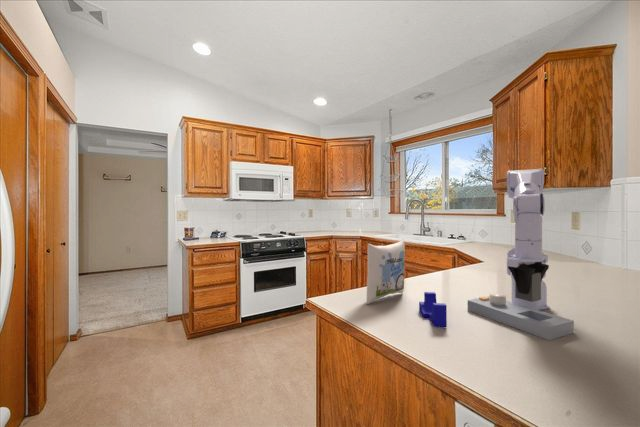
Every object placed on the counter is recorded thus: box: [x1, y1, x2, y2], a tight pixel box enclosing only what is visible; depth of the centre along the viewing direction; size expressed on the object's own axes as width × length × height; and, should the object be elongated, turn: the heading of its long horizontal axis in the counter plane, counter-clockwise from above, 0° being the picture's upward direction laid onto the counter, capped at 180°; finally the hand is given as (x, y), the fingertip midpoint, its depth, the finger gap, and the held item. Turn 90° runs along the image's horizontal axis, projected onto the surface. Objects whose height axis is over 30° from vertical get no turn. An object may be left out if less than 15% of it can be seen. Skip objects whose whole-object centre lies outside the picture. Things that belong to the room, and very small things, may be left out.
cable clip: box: [418, 291, 448, 328], centre depth 80 cm, size 12×4×6 cm, turn 172°
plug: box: [515, 272, 541, 302], centre depth 74 cm, size 4×4×7 cm
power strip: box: [467, 292, 575, 341], centre depth 78 cm, size 10×22×6 cm, turn 22°
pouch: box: [366, 239, 406, 305], centre depth 98 cm, size 8×19×20 cm, turn 124°
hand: (528, 292), depth 74 cm, fingers closed on plug, 4 cm apart
